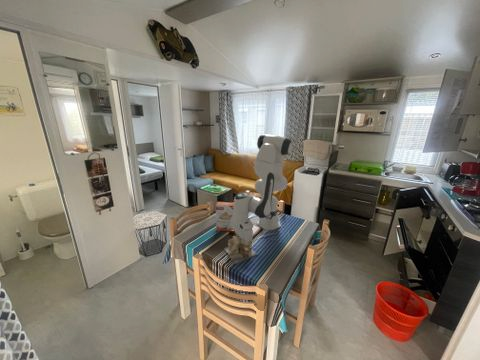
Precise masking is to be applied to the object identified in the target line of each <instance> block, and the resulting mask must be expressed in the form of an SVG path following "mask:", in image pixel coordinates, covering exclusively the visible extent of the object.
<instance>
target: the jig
mask: <svg viewBox="0 0 480 360" xmlns="http://www.w3.org/2000/svg"><path fill="white" fill-rule="evenodd" d="M236 237H237V235H233V236H232V238H236ZM232 238H231V239H232ZM223 250H224V251H225V252H226V254H227V255H228V246H226V247H224V248H223ZM256 256H258V254H257V253H256V251H254V250H253V249H252V248H250V249H248V248H247V247H246V246H245V245H244V244H242V245H241V247H240V248H238V253H237V254H234V255H231V256H229V258H230V259H231V260H232V261H233V262H234V264H239V263H241V262H244V261H246V260H248V259H251V258H253V257H256ZM238 262H239V263H238Z"/></svg>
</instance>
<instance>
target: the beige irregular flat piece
mask: <svg viewBox="0 0 480 360" xmlns="http://www.w3.org/2000/svg"><path fill="white" fill-rule="evenodd" d="M240 239H241V236H239V237H237V236H236V238H229V239H228V241H227V247H228V254H227V255H228V256H229V257H230V256H231V255H234V254H237V253H238V248H240V247H241V245H242V244H244V245H245V246H246V247H247V248H248V249H250V248H251V249H252V248H253V240H252V241H250V242H246V241H245V240H244V242H243V243H241V242H240Z"/></svg>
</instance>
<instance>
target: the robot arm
mask: <svg viewBox="0 0 480 360" xmlns="http://www.w3.org/2000/svg"><path fill="white" fill-rule="evenodd" d="M256 146H257V149H259V150H258V152H257V154H256V157H255V161H254V164H253V171H254V174H256V176H257V177H258V178H259V179H257V180H256V181H255V184H254V189H255V191H256V192H257V193H258V194H259V195H260V196H261V198H260V197H258V196H255V195H252V194H248V193H245V192H238V193H237V194H236V195H235V196H234V197H233V198H234V199H233V203H234V205H233V209H234V214H233V215H232V218H231V220H230V227H231V228H232V229H233V230H234V231H235V234H236V235H235V236H236V237H239V236H241V239H240V242H241V243H243V242H244V240H245V241H246V242H250V241H252V242H253V238H254V231H253V229H254V224H253V222H252V221H251V219H250V218H249V214H250V213H252V214H253V215H255V216H257V217H258V220H257V222H256V225H258V226H259V227H260V228H261V227H262V230H266V231H267V230H268V231H274V230H276V229H279V228H281V227H282V225H281V222H280V217H279V214H278V212H279V211H278V201H279V200H278V198H277V197H276V196H274V195H273V194H274V192H276V193H277V192H280V191H283V190H286V189H287V188H288V180H287V178H286V176H284V174H283V170H284V169H283V167H284V162H285V157H286V156H287V155H289V154H290V153H291V151H292V149H293V141H292V140H291V139H290V138H288V137H284V136H280V135H273V134H267V133H263V134H262V133H261V134H260V135H259V137H258V138H257V142H256ZM234 231H233V232H234Z"/></svg>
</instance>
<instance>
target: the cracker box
mask: <svg viewBox="0 0 480 360" xmlns="http://www.w3.org/2000/svg"><path fill="white" fill-rule="evenodd" d="M233 205H234V202H225V201H217V202H216V205H215V209H216V210H215V211H216V213H215V219H216V220H215V222H216V223H215V225H216V231H222V232H223V231H225V232H232V231H231V230H233V229H232V228H231V227H230V220H231V218H232V215H233V214H234V209H233Z"/></svg>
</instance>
